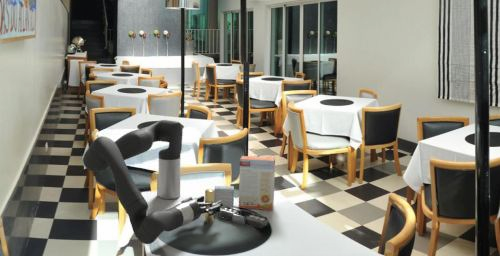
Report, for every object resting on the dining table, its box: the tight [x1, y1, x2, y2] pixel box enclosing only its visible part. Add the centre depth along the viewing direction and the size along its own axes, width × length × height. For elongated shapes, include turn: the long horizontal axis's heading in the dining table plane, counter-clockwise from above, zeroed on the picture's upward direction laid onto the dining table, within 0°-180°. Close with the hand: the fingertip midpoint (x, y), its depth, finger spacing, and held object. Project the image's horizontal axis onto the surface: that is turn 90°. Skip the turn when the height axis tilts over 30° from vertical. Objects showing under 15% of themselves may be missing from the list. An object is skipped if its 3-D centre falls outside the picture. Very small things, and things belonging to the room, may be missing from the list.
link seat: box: [232, 208, 254, 226], centre depth 171 cm, size 5×7×3 cm
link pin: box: [204, 188, 215, 223], centre depth 169 cm, size 4×4×12 cm
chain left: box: [218, 206, 242, 222], centre depth 175 cm, size 7×5×3 cm
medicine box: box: [213, 185, 235, 208], centre depth 184 cm, size 8×4×9 cm, turn 92°
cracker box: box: [238, 155, 276, 211], centre depth 185 cm, size 14×6×21 cm, turn 82°
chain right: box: [245, 213, 269, 230], centre depth 168 cm, size 7×5×3 cm
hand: (212, 200), depth 170 cm, fingers open, 8 cm apart
